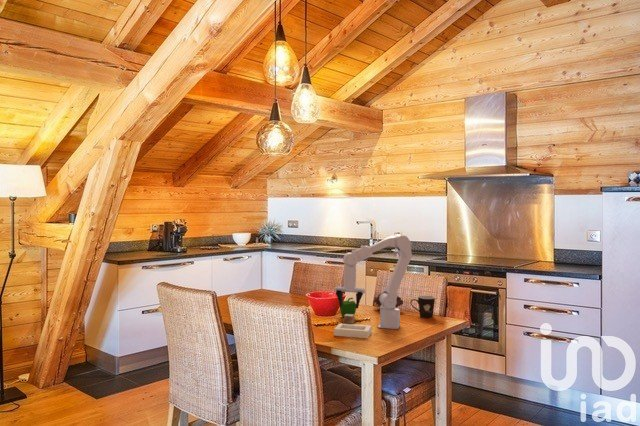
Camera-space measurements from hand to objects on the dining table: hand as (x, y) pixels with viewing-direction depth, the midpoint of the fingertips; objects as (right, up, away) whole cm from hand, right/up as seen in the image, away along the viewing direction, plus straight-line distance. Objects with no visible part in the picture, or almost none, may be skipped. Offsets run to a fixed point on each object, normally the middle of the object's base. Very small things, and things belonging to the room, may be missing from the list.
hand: (349, 307), depth 246 cm
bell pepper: (+1, -9, +21) cm, 23 cm away
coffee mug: (+39, -9, +23) cm, 47 cm away
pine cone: (+23, -8, +38) cm, 45 cm away
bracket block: (0, -10, 0) cm, 10 cm away
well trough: (+1, -10, -10) cm, 14 cm away
